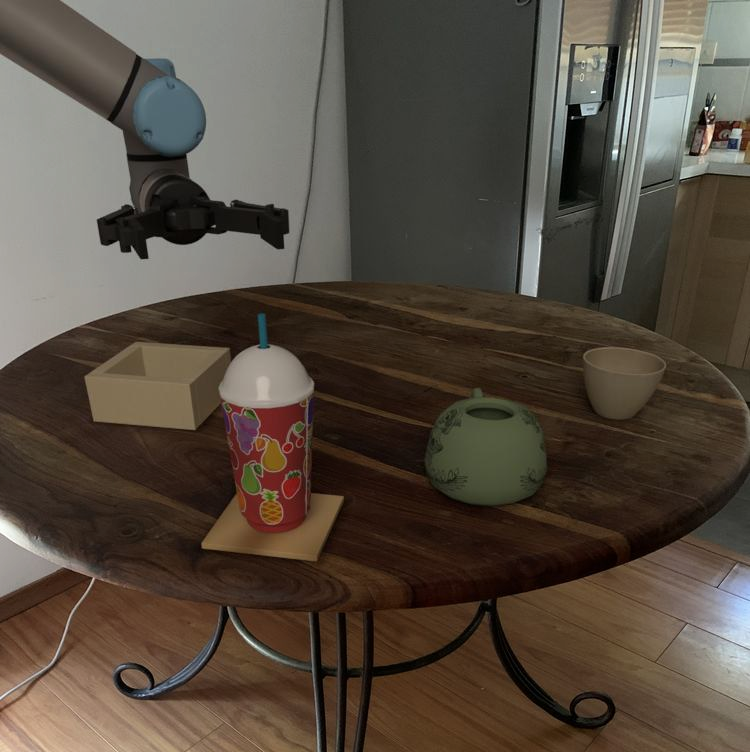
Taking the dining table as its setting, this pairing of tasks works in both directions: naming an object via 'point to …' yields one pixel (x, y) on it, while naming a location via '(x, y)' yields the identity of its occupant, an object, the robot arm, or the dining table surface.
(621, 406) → the flower pot
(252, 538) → the cork mat
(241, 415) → the smoothie
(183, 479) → the dining table surface
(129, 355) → the square beige tray
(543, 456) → the green rounded ceramic pot
